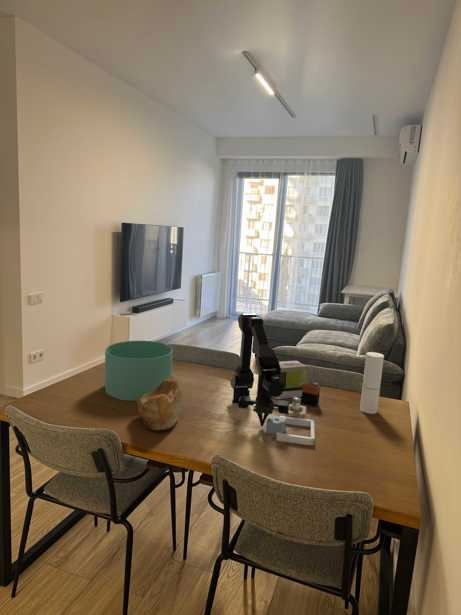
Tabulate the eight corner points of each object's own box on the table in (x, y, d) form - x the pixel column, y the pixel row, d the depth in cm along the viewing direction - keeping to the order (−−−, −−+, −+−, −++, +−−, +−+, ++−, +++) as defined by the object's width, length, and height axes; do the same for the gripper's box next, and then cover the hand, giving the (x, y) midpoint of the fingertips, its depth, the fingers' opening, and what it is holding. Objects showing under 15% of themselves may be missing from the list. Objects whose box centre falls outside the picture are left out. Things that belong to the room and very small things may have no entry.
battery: (315, 407, 182) (317, 385, 181) (300, 403, 186) (302, 382, 184) (318, 404, 186) (321, 382, 184) (304, 400, 189) (306, 379, 188)
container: (184, 387, 197) (186, 348, 194) (139, 407, 173) (140, 363, 169) (138, 373, 213) (139, 337, 210) (90, 389, 188) (90, 349, 185)
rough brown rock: (149, 406, 176) (147, 372, 173) (188, 408, 172) (186, 373, 169) (125, 433, 153) (121, 394, 150) (168, 436, 150) (165, 397, 147)
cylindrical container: (377, 409, 185) (384, 354, 180) (376, 415, 178) (383, 358, 174) (361, 405, 188) (367, 351, 183) (358, 411, 181) (365, 355, 177)
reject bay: (276, 440, 151) (277, 434, 151) (279, 421, 167) (279, 415, 166) (313, 445, 149) (314, 439, 148) (313, 426, 164) (313, 420, 164)
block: (265, 432, 157) (266, 420, 156) (270, 425, 162) (271, 414, 162) (281, 436, 155) (282, 424, 154) (285, 429, 160) (286, 418, 160)
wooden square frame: (284, 421, 167) (285, 411, 167) (285, 413, 175) (286, 403, 174) (305, 423, 166) (305, 414, 165) (305, 415, 174) (305, 406, 173)
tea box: (295, 389, 203) (297, 359, 200) (305, 397, 193) (308, 366, 191) (266, 391, 198) (268, 361, 195) (275, 399, 188) (277, 368, 186)
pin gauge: (290, 418, 169) (292, 399, 168) (291, 414, 172) (292, 396, 171) (298, 419, 168) (300, 400, 167) (299, 415, 172) (300, 397, 170)
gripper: (236, 391, 151) (234, 432, 153) (289, 397, 147) (285, 439, 150) (241, 380, 161) (239, 419, 164) (290, 386, 158) (287, 425, 161)
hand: (262, 425), depth 160 cm, fingers closed
